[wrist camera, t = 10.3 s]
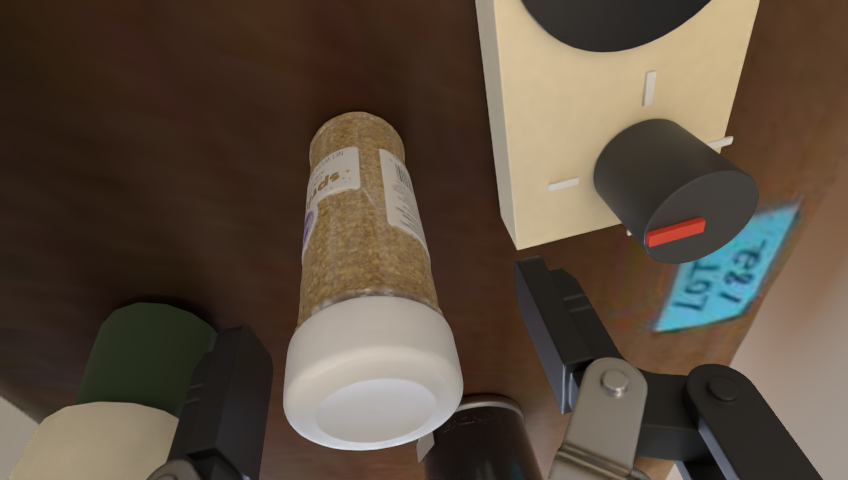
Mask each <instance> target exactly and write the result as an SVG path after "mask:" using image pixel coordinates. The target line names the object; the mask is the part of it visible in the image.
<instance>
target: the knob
mask: <svg viewBox="0 0 848 480" xmlns="http://www.w3.org/2000/svg"><path fill="white" fill-rule="evenodd" d="M593 180H594V186H595V189H596V191H597V193H598V194H599V196H600V197H601V198H602V199H603V200H604V202H605V203H606V204H607V205H608V206H609V208H610V209H611V210H612V211H613V212H614V214H615V215H616V216H617V217H618V219H619V220H620V221H621V222H622V223H623V225H624V226H625V227H626V228H627V229H628V231H629V232H630V233H631V234H632V235H633V237H634V238H635V239H636V240H637V241H638V243H639V244H640V245H641V246H642V247H643V249H644V250H645V251H646V252H647V253H648V255H649V256H651V257H652V258H653V259H655V260H657V261H660V262H663V263H668V264H679V263H686V262H690V261H694V260H697V259H700V258H702V257H705V256H707V255H709V254H711V253H713V252H715V251H716V250H718V249H720V248H721V247H723V246H724V245H726V244H727V243H728V242H729V241H731V240H732V239H733V238H734V237H735V236H736V235H737V234H739V232H740V231H741V230H742V229H743V228H744V227H745V226H746V224H747V223H748V222H749V220H750V219H751V217H752V215H753V214H754V212H755V209H756V207H757V204H758V199H759V191H758V187H757V184H756V182H755V180H754V179H753V178H752V177H751V176H750V175H749V174H747V173H746V172H744V171H743V170H742V169H740V168H739V167H737V166H736V165H735V164H733V163H732V162H730V161H729V160H728V159H726V158H725V157H723V156H722V155H721V154H719V153H718V152H716V151H715V150H714V149H712V148H711V147H709V146H708V145H707V144H705V143H704V142H702V141H701V140H700V139H698V138H697V137H695V136H694V135H693V134H691V133H690V132H688V131H687V130H686V129H684V128H683V127H681V126H680V125H679V124H677V123H675V122H673V121H670V120H666V119H650V120H646V121H642V122H639V123H637V124H634V125H632V126H630V127H629V128H627V129H625V130H624V131H622V132H621V133H619V134H618V135H617V136H616V137H615V138H614V139H612V140H611V141H610V143H609V144H608V145H607V146H606V147H605V149H604V150H603V151H602V153H601V154H600V156H599V158H598V160H597V163H596V165H595V169H594V176H593Z"/></svg>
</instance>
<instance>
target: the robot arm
mask: <svg viewBox="0 0 848 480" xmlns="http://www.w3.org/2000/svg"><path fill="white" fill-rule="evenodd" d="M514 272H515V285H516V296H517V301H518V306H519V309H520V312H521V315H522V317H523V320H524V322H525V325H526V327H527V330H528V332H529V335H530V337H531V339H532V342H533V344H534V347H535V349H536V352H537V354H538V356H539V359H540V361H541V364H542V366H543V369H544V371H545V374H546V376H547V378H548V381H549V383H550V386H551V388H552V391H553V393H554V395H555V398H556V400H557V403H558V405H559V408H560V410H561V413H562V414H566V413H570V412H572V414H571V417H570V420H569V424H568V427H567V430H566V433H565V437H564V440H563V443H562V445H561V447H560V448H559V449H558V451H557V453H556V455H555V458H554V461H553V464H552V467H551V470H550V474H549V477H548V480H631V473H632V467H633V462H634V457H635V456H641V457H649V458H658V459H666V460H674V462H675V464H676V465H677V467H678V470H679V472H680V473H681V476H682V478H683V479H684V480H823V479H822V478H821V476H820V475H819V474H818V472H817V471H816V469H815V468H814V467H813V465H812V464H811V463H810V461H809V460H808V458H807V457H806V456H805V454H804V453H803V452H802V450H801V449H800V447H799V446H798V445H797V443H796V442H795V441H794V439H793V438H792V437H791V435H790V434H789V432H788V431H787V430H786V428H785V427H784V426H783V424H782V423H781V421H780V420H779V419H778V417H777V416H776V415H775V413H774V412H773V411H772V409H771V408H770V406H769V405H768V404H767V402H766V401H765V400H764V398H763V397H762V395H761V394H760V393H759V391H758V390H757V389H756V387H755V386H754V385H753V384H752V382H751V381H750V380H749V379H748V378H746V377H745V376H744V375H743V374H741V373H740V372H738V371H736V370H734V369H732V368H730V367H727V366H724V365H719V364H704V365H700V366H698V367H695V368H694V369H693V370H691V372H690V373H689V375H688V376H684V375H670V374H657V373H651V372H647V371H644V370H641V369H639V368H637V367H635V366H634V365H632V364H631V363H629V362H628V361H627V360H625V359H624V358H623V357H622V355H621V354H620V353H619V351H618V350H617V348H616V346H615V345H614V343H613V341H612V339H611V338H610V336H609V334H608V332H607V331H606V329H605V327H604V326H603V324H602V322H601V320H600V319H599V317H598V315H597V314H596V312H595V310H594V308H592V305H591V303H590V302H589V300H588V298H587V296H585V293H584V291H583V290H582V288H581V286H580V284H579V283H578V281H577V279H576V278H574V277H573V276H572V275H570V274H569V273H568V272H566V271H565V270H564V269H562V268H561V269H557V270H552V271H549V270H548V269H547V267H546V265H545V263H544V261H543V259H542V257H541V256H540V255H537V256H533V257H529V258H525V259H520V260H516V261H514ZM272 378H273V363H272V359H271V356H270V354H269V353H268V351H267V350H266V348H265V347H264V346H263V344H262V343H261V341H260V340H259V339H258V337H257V336H256V335H255V333H254V332H253V330H252V329H251V328H250V327H249V326H248V325H243V326H238V327H234V328H230V329H226V330H222V331H220V332H219V333H218V334H217V337H216V340H215V344H214V348H213V351H211V352H207V353H205V354H204V356H203V357H202V359H201V360H200V362H199V363H198V365H197V366H196V367H195V369H194V371H193V374H192V378H191V381H190V384H189V391H187V394H186V398H185V401H184V402H185V405H183V408H182V411H181V415H180V418H179V421H178V425H177V428H176V431H175V435H174V438H173V441H172V445H171V448H170V451H169V455H168V458H167V460H166V463H165V464H163V465H161V466H160V467H158V468H157V469H156V470H155V471H154V472H153V473H152V474H151V475H150V476H149V477H148V478H147V479H146V480H259V473H260V465H261V458H262V451H263V444H264V436H265V429H266V422H267V414H268V407H269V400H270V393H271V385H272ZM416 448H417V456H418V463H419V462H420V461H421V460H422V461H423V468H424V475H425V480H543V477H542V474H541V471H540V468H539V465H538V462H537V459H536V456H535V453H534V450H533V447H532V444H531V441H530V438H529V435H528V432H527V429H526V426H525V420H524V417H523V414H522V411H521V409H520V407H519V405H518V404H517V403H516V402H514V401H513V400H511V399H508V398H506V397H502V396H496V395H476V396H469V397H464V398H461V401H460V403H459V405H458V407H457V409H456V410H455V412H454V413H453V414H452V416H451V417H450V418H449V419H448V420H447V421H446V422H444V423H443V424H442V425H441V426H439V427H438V428H436V429H435V430H433V431H432V432H430V433H428V434H426V435H424V436H422V437H420V438H418V443H417V444H416Z"/></svg>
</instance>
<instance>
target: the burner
mask: <svg viewBox="0 0 848 480" xmlns="http://www.w3.org/2000/svg"><path fill="white" fill-rule="evenodd" d="M710 1H711V0H521V2H522V4H523V5H524V7H525V9H526V11H527V12H528V13H529V14H530V16H531V17H532V18H533V20H534V21H535V22H536V23H537V24H538V25H539V26H540V27H541V28H542V29H543V30H544V31H546V32H547V33H548V34H549V35H551V36H552V37H554V38H555V39H557V40H559V41H560V42H562V43H564V44H566V45H569V46H571V47H573V48H577V49H581V50H584V51H590V52H601V53H604V52H618V51H623V50H628V49H633V48H636V47H639V46H642V45H645V44H648V43H650V42H652V41H654V40H657V39H659V38H661V37H663V36H665V35H666V34H668V33H670V32H671V31H673V30H675V29H676V28H678V27H680V26H681V25H682V24H684V23H685V22H686V21H688V20H689V19H691V18H692V17H693V16H695V15H696V14H697V13H698V12H699V11H700V10H701V9H702V8H704V7H705V6H706V5H707V4H708V3H709V2H710Z"/></svg>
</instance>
